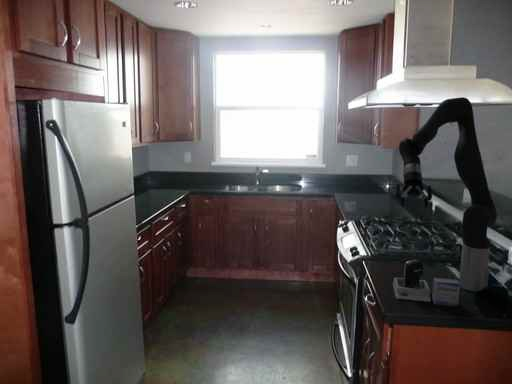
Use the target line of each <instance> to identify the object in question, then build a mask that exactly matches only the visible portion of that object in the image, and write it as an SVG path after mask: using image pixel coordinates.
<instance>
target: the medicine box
mask: <svg viewBox="0 0 512 384" xmlns="http://www.w3.org/2000/svg"><path fill="white" fill-rule="evenodd" d="M432 283H433V284H432V295H431V300H432V302H433V304H434V305H435V306H444V307H445V306H446V307H458V306H459V298H460V289H461V287H460V284H459V280H458V279H453V278H439V277H433V282H432Z"/></svg>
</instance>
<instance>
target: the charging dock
mask: <svg viewBox="0 0 512 384" xmlns="http://www.w3.org/2000/svg"><path fill="white" fill-rule="evenodd" d="M419 285H420V289H415V288H405V287H403V277H394V278H393V282H392V286H393V289H394V294H395V298H396V299H397V300H398V299H399V300H400V299H401V300H410V301H419V302H431V300H432V298H431V297H430V296H431V289H430V287H429V284H428V283H427V280H424V279H419Z"/></svg>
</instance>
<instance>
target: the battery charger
mask: <svg viewBox="0 0 512 384" xmlns="http://www.w3.org/2000/svg"><path fill="white" fill-rule="evenodd" d="M423 275H424V264H423V262H421V261H420V260H418V259H412V260H407V261H405V263H404V265H403V273H402V278H403V287H405V288H415V289H420V285H419V280H421V279H420V277H421V276H423Z"/></svg>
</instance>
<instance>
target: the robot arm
mask: <svg viewBox="0 0 512 384" xmlns="http://www.w3.org/2000/svg"><path fill="white" fill-rule="evenodd" d="M473 110H474V109H473V105H472V103H471V101H470V100H469V99H468V98H466V97H463V96H462V97H454V98H453V97H452V98H447V99H444V100H443V101H442V102H440V103H439V105H438V106H437V108H436V109H435V110H434V112H433V113H431V115H430V117H428V119H427V121H426V122H425V123H424V125H423V126H421V128H419V129H418V130H416V132H415V133H414V134H413V135H412V139H411V138H409V137H404V138H402V139H401V140H400V142H399V144H398V149H399V154H400V156H401V159H402V161H403V171H402V172H403V173H402V176H403V185H400V184H396V188H395V200H400V201H399V203H400V207H401V208H404V207H405V205H406V204H405V203H406V202H405V199H406V198H407V197H408V196H409V197H418V198H419V199H422V201H423V203H422V205H423V209H425V210H426V209H427V208H428V205H429V202H428V201H431V200H432V198H433V194H432V193H433V192H432V187H431V185H427V186H424V185H423V176H422V175H423V174H422V173H423V172H422V169H421V168H422V167H421V158H420V157H419V156H420V155H421V154H422V153H423V151H424V149H425V148H426V146H427V144H429V143H431V141H433V140H434V139H435V138H436V137H437V135H438V133H439V129H440V128H441V127H442V126H444V125H446V124H448V123H450V124H451V123H457V126H458V133H459V134H458V136H459V137H458V141H457V143H456V147H455V150H454V155H453V159H454V164H455V168H456V172H457V174H458V175H457V176H458V177H459V178H460V180H461V181H462V183H463V184H464V185H465V188H466V189H467V190H468V193H469V195H470V200H471V205H469V206H468V207H467V208H466V209H465V210H464V212H463V215H462V221H461V222H462V223H461V237H462V249H461V258H460V268H459V275H458V276H459V278H458V282H459V284H460V289H463V290H466V291H469V292H475V293H478V292H477V291H480V290H481V289H483V288H485V287H487V288H488V282H489V274H490V267H489V257H490V251H491V239H490V238H488V235H487V234H488V228H489V227H491V226H493V225H494V224H495V223H496V221H497V219H498V214H497V209H496V207H495V203H494V200H493V198H492V196H491V192H490V190H489V189H490V188H489V185H488V181H487V176H486V172H485V167H484V162H483V158H482V155H481V151H480V147H479V142H478V141H479V140H478V136H477V132H476V124H475V117H474V111H473ZM402 190H403V191H404V192H403V193H402V194H400V192H401V191H402ZM425 193H426V194H427V195H426V194H425Z"/></svg>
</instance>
